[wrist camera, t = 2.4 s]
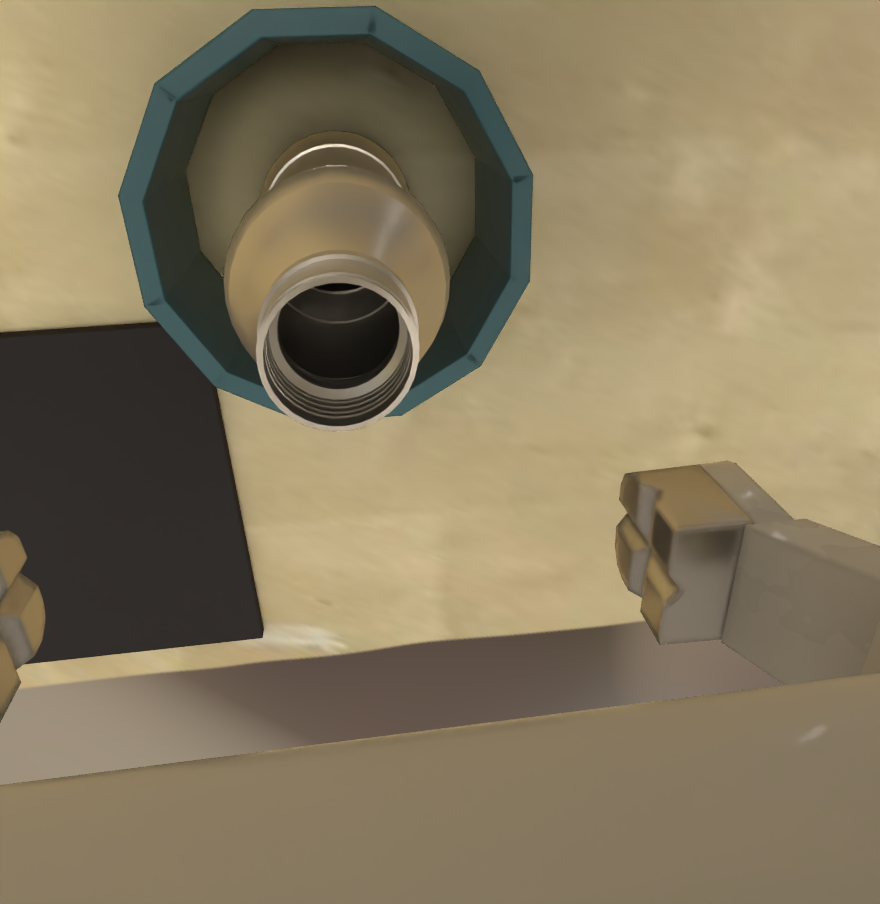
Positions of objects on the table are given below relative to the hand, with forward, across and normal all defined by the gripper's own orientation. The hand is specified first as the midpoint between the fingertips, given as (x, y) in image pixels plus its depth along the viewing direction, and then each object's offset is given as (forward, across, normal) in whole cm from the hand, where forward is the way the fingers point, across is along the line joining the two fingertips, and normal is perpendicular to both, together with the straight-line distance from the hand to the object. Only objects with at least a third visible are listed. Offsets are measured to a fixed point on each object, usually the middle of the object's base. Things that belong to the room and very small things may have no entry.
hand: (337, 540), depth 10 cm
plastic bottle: (+27, 0, 0) cm, 27 cm away
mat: (+27, +15, +15) cm, 34 cm away
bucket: (+27, 0, 0) cm, 27 cm away
